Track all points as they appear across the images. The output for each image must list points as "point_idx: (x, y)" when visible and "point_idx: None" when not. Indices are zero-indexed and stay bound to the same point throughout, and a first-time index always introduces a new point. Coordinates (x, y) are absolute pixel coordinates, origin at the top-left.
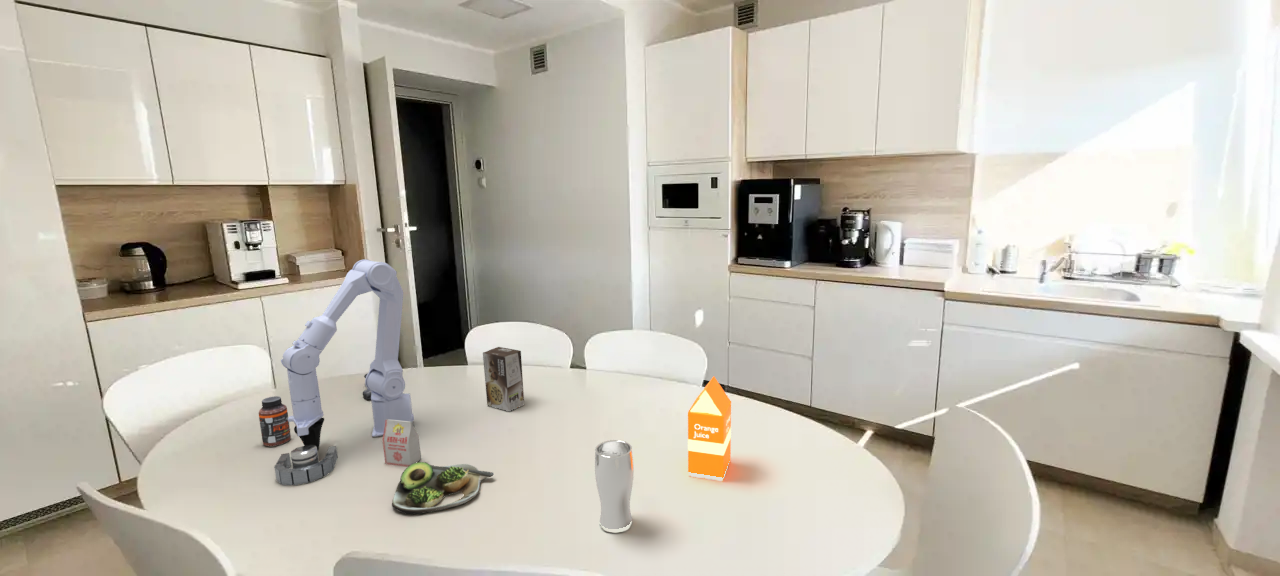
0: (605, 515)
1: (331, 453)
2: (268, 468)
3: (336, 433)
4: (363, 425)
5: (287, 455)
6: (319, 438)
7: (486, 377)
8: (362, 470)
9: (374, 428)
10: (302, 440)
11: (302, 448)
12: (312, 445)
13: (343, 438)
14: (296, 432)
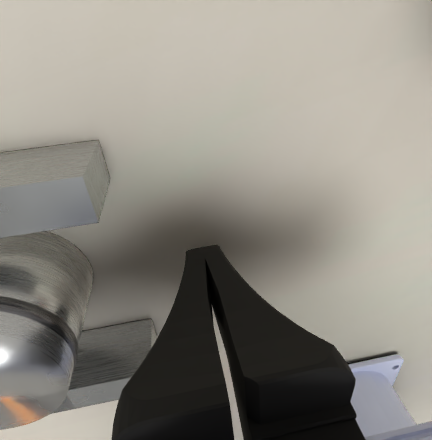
0: None
1: (63, 406)
2: (79, 39)
3: (415, 258)
4: (427, 320)
5: (52, 226)
6: (224, 346)
7: None
8: (30, 424)
9: (356, 370)
10: (169, 317)
11: (9, 372)
12: (57, 399)
13: (342, 297)
14: (119, 402)
